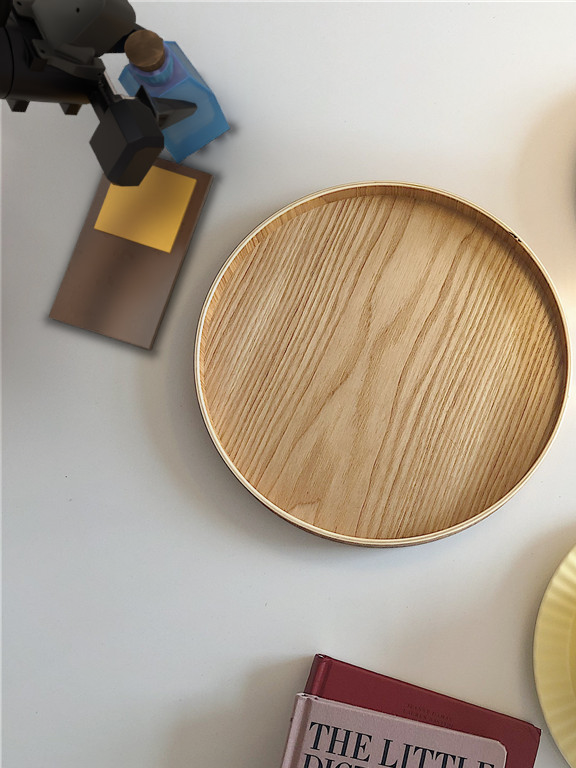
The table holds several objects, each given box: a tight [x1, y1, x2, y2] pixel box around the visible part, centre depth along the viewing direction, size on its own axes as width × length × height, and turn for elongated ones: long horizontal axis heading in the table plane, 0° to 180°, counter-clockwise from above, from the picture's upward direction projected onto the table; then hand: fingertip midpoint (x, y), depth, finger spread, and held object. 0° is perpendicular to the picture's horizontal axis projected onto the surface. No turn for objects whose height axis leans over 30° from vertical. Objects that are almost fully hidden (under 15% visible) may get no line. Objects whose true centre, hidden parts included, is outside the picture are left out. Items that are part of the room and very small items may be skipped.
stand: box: [48, 157, 215, 351], centre depth 66 cm, size 10×18×1 cm, turn 162°
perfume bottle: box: [117, 29, 231, 164], centre depth 62 cm, size 6×6×12 cm
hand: (178, 77), depth 61 cm, fingers closed on perfume bottle, 6 cm apart
